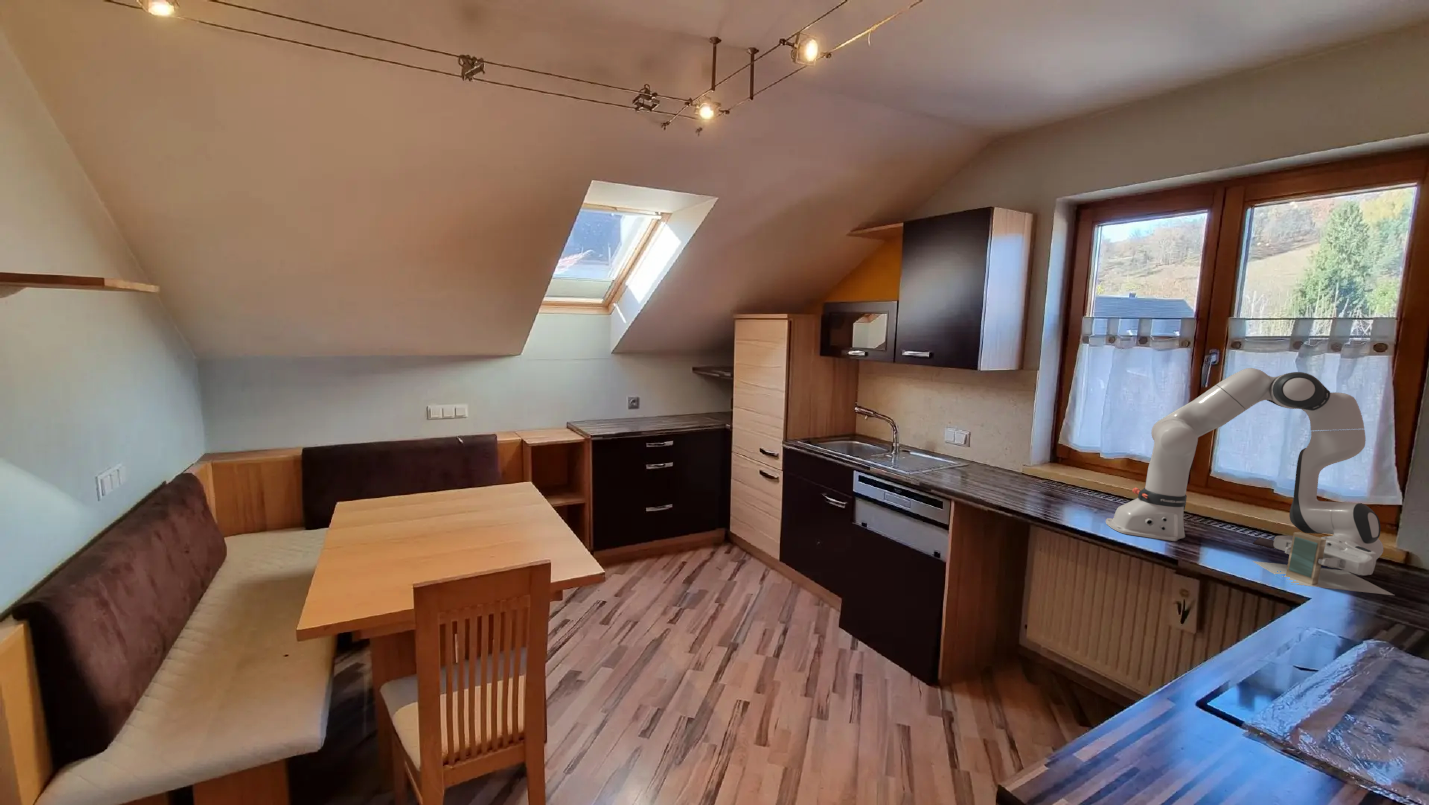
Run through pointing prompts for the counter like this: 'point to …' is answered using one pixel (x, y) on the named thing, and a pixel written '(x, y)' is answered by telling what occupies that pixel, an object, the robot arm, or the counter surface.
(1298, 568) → the birch box
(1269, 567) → the mat
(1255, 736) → the counter surface
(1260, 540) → the chocolate bar
